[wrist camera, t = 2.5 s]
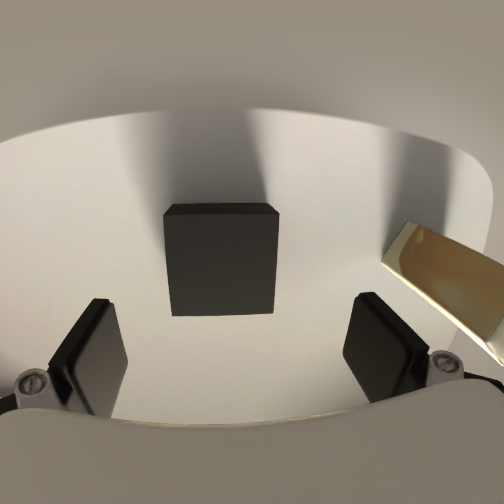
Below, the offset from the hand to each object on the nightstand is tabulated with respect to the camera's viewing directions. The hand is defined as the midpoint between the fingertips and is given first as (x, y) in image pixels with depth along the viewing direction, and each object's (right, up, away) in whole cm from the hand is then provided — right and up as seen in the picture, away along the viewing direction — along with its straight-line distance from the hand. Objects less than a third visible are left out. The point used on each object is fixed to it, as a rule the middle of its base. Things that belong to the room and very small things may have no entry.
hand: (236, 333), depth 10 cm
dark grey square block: (-2, +3, +9) cm, 9 cm away
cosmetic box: (+14, +3, +11) cm, 18 cm away
